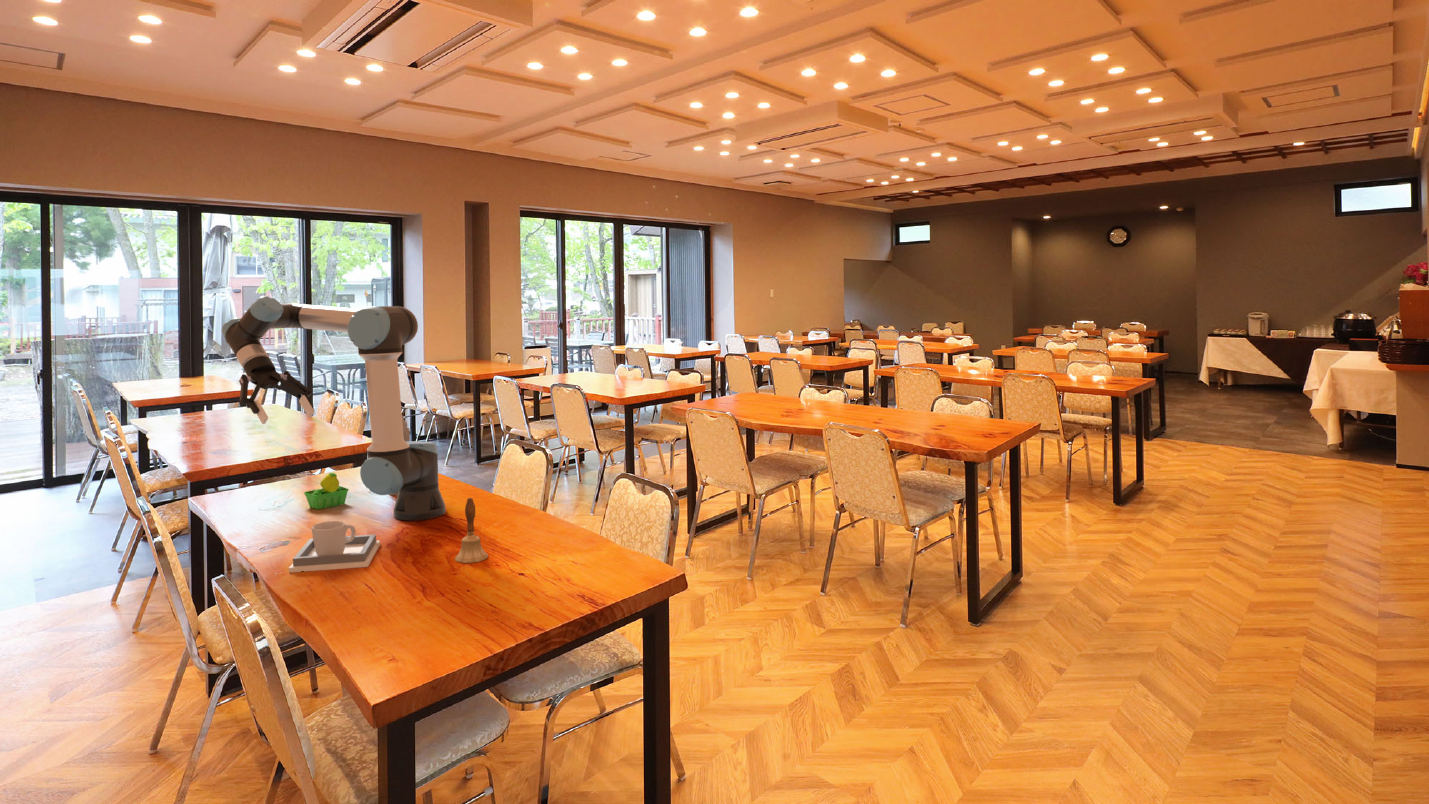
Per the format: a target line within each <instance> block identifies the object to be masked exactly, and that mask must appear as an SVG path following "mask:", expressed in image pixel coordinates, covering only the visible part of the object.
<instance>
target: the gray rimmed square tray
mask: <svg viewBox="0 0 1429 804" xmlns="http://www.w3.org/2000/svg"><path fill="white" fill-rule="evenodd" d="M350 536H351V535H346V539H348V538H350ZM380 545H381V540H379V539H378V540H377V534H375V533H374V534H364V535H363V534H361V535H355V538H354V539H353V540H352V541H351V542H348V543H345V549H344V552H343V553H342V554H333V555H319V556H318V555H317V554H316V551H315V546H314V540H313V537H312V538H309V539H308V540H307V541H306V542H305V544H304V545H303V546H302V548H300V549H299V551H298V552H297V553H296V554H295V555H294V556H293V558H292V564H291V565H290V566H289V567H288V573H302V572H301V571H304V572H315V571H330V570H342V569H357V568H368V567H369V565H370V563H371V562H372V560H373V559H374V556H375V555H376V553H377V551H378V549H379V548H380Z"/></svg>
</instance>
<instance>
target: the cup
mask: <svg viewBox="0 0 1429 804" xmlns="http://www.w3.org/2000/svg"><path fill="white" fill-rule="evenodd" d="M349 529H350V535H349V536H350V538H348V539H346V536H347V535H346V533H347V531H348V530H349ZM311 534H312V538H313V540H314V546H315V551H316V554H317V555H318V556H319V555H333V554H342V553H343V552H344V549H345V543H348V542H351V541H352V540H353V539H354V538H355V536H356V534H357V533H356V527H355V526H354V525H353V524H349V523H348V524H347V522H344V521H342V520H341V521H340V520H330V521H329V520H327V521H322V522H318V523H316V524H314V525H312V526H311Z"/></svg>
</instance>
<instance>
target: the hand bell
mask: <svg viewBox="0 0 1429 804" xmlns="http://www.w3.org/2000/svg"><path fill="white" fill-rule="evenodd" d="M464 515H465V519H466V521H467V526H466V527H467V532H466V535H465V536H464V537H462V539H461V547H460V550H459V552H458V554H457V555H455V558H454V560H455V562H457V563H461V564H462V563H463V564H473V563H479V562H482V561H485V560H487V559H488V558H489V555H488V553H487V552H485V550H484V549H483V547H482V543H481V538H480V536H477V535H475V530H474V529H475V525H474V522H475V517H476V505H475V502H474V499H473V497H468V498H467V499H466V504H465V507H464Z"/></svg>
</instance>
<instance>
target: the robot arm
mask: <svg viewBox="0 0 1429 804" xmlns="http://www.w3.org/2000/svg"><path fill="white" fill-rule="evenodd" d="M293 328H294V329H303V330H305V329H307V330H316V331H329V332H339V333H347V334H348V337H349V340H350V341H351V342H352V343H353V345H354V346H355V347H357V351H358V353H357V354H358V356H359V357H361V358H362V359H363V360H364V364H365V367H364V368H365V376H366V377H365V379H366V386H367V387H366V389H367V397H368V399H367V401H368V411H369V413H368V414H369V420H370V434H371V435H370V436H371V443H370V445H369V446H368V447H367V448H366V455H367V456H366V458H367V459H365V460H364V461H363V463H362V464H361V466H360V469H359V470H360V471H359V474H360V480H361V481H362V484H363V485H364V486H365V488H367V489H368V490H369V491H370V492H371V493H373V494H375V495H379V496H387V495H388V496H389V494H393V493H396V492H398V491H399V493H398V495H396V496H397V497H396V501H395V504H394V507H393V517H394V519H396V520H400V521H401V520H402V521H424V520H431V519H435V518H438V517H441V516H443V515H444V514H445V513H446V512H447V511H446V504H445V501H444V499H443V496H442V493H441V491H440V487H439V461H438V457H439V454H438V449H437V444H436V443H434V442H433V441H421V440H419V441H418V440H416V441H415V440H413V441H411V440H410V441H404V436H403V424H402V413H403V412H402V402H401V390H400V389H401V387H400V376H399V364H398V359H399V357H400V356H401V355H402V354H403V345H407V344H408V343H411V341H412V340H413V339H414V338H415V337H416V335H417V333H418V328H419V322H418V319H417V317H416V315H415V314H414V313H413V312H412V311H411V310H409V309H408V308H406V307H404V306H399V305H393V306H391V305H390V306H389V305H388V306H381V305H380V306H376V305H373V306H366V307H362V308H352V307H341V306H340V307H339V306H328V305H327V306H326V305H315V304H306V303H301V302H294V303H293V302H292V303H280V301H278V300H277V299H276V298H275V297H274V298H273V297H270V296H268V295H261V296H260V297H258V298H257V299H256V300H255V301H254V302H253V303H251V305H250V307H249V308H248V309H247V310H246V311H245V313H244V314H243V315H242V317H235V318H231V319H229V321H226V322H225V323H223V325H222V327H221V333H222V335H223V337H224V339H225V340H224V341H226V343H227V345H228V346H229V347H230V349H231V350H232V352H233V354H234V356H235V358H236V359H237V361H238V362H239V364H240V366H241V367H242V369H243V371H244V373H245V374H242V375H241V376H240V378H239V380H238V382H239V384H240V394H239V405H240V406H244V405H245V407H246V408H247V409H250V411H251V412H252V413H253V414H255V415H256V416H257V418H258V420H260V422H261V424H262V425H266V423H267V421H268V419H269V416H268V414H267V413H266V410H265V409H264V408H263V406H262V404H261V403H260V401H259V400H258V399H256V398H257V396H258V394H259V391H260V390H261V389H262V390H271V389H272V390H274V389H276V390H279V391H280V390H281V391H283V392H285V393H287V394H289V395H291V396H293V397H295V398H297V399H299V400H298V402H299V404H300V406H301V407H302V409H303V410H304V412H305V414H306V416H307V417H308V418H312V417H313V415H314V413H315V412H316V411H315V410H314V409H313V406H312V404H313V403H312V401H311V399H310V397H311V395H312V393H313V391H312V390H311V389H310V388H309V387H307V386H306V385H304V384H303V383H301V381H299V380H298V379H297V378H295V377H294V376H292V375H291V373H290V371H288V370H285V371H284V373H279V372H278V371H277V370H276V366H275V365H274V363H273V361H272V359H271V358H270V356H269V355H268V353H267V351H266V350H265V348H264V347H263V345H262V343H261V342H260V340H261V339H262V338H263V337H264V336H265V335H266V333H267V332H268V331H269V330H271V329H273V330H274V329H293ZM249 383H251V384H253V385H255V387H254V389H253V391H252V393H251V395H250V397H249V398H248V392H249Z"/></svg>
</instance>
